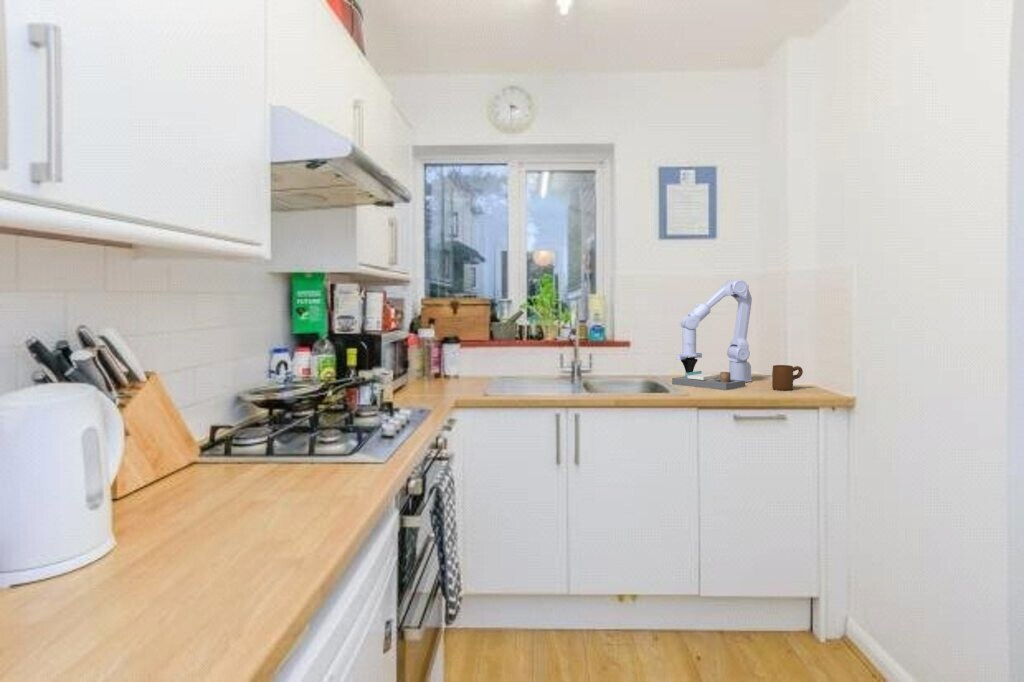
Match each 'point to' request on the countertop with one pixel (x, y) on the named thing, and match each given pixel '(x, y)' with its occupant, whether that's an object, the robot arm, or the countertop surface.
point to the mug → (784, 377)
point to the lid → (699, 375)
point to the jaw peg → (724, 376)
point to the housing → (709, 383)
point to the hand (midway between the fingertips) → (689, 375)
